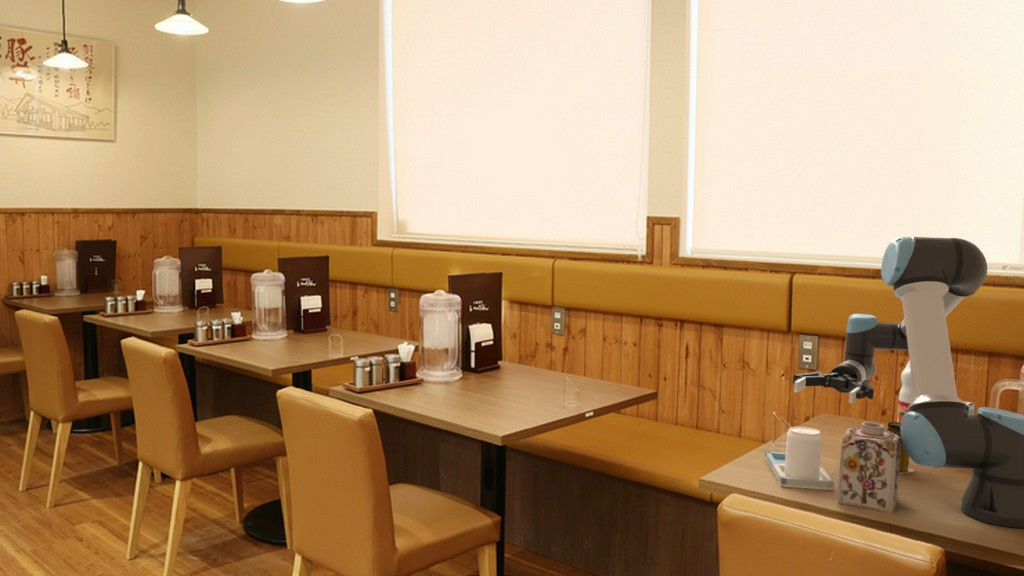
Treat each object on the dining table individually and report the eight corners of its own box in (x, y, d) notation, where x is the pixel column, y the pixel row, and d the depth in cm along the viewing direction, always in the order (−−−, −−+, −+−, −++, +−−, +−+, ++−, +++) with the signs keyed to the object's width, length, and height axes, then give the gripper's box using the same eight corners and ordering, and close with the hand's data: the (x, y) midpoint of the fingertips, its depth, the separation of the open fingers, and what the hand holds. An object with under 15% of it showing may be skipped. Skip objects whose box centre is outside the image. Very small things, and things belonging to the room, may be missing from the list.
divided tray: (833, 490, 197) (833, 481, 196) (780, 486, 198) (781, 478, 198) (811, 462, 219) (812, 454, 219) (764, 458, 221) (765, 451, 221)
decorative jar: (844, 489, 197) (849, 415, 196) (897, 499, 192) (903, 423, 190) (835, 504, 187) (841, 425, 185) (892, 514, 181) (898, 434, 180)
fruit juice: (932, 440, 245) (939, 347, 243) (929, 448, 237) (937, 351, 235) (897, 435, 250) (904, 343, 248) (893, 442, 242) (900, 347, 240)
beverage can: (824, 478, 203) (827, 430, 202) (810, 485, 197) (814, 436, 196) (792, 471, 209) (795, 424, 208) (778, 477, 203) (781, 429, 202)
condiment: (915, 471, 214) (919, 425, 213) (896, 476, 210) (900, 429, 209) (889, 463, 220) (892, 419, 219) (870, 468, 216) (873, 422, 215)
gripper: (895, 399, 218) (873, 417, 201) (800, 381, 233) (772, 397, 216) (898, 371, 217) (876, 387, 200) (802, 355, 232) (775, 369, 215)
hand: (822, 392), depth 208 cm, fingers open, 13 cm apart
